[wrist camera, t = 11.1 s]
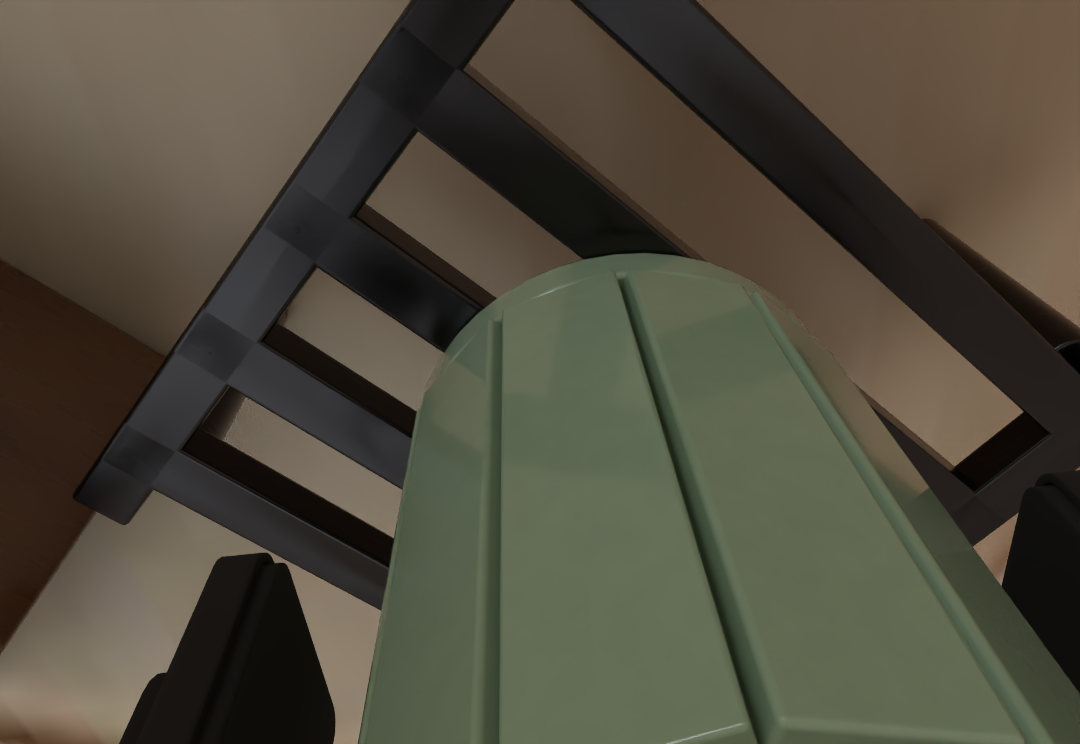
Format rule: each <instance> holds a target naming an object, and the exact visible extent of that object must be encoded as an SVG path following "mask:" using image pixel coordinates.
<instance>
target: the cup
mask: <svg viewBox="0 0 1080 744" xmlns="http://www.w3.org/2000/svg"><path fill="white" fill-rule="evenodd" d="M358 744H1080V693H1079V692H1078V691H1077V689H1076V688H1075V687H1074V685H1073V684H1072V683H1071V681H1070V680H1069V678H1068V677H1067V676H1066V674H1065V673H1064V672H1063V670H1062V669H1061V667H1060V666H1059V665H1058V663H1057V662H1056V661H1055V659H1054V658H1053V656H1052V655H1051V654H1050V652H1049V651H1048V650H1047V648H1046V647H1045V645H1044V644H1043V643H1042V641H1041V640H1040V639H1039V637H1038V636H1037V634H1036V633H1035V632H1034V630H1033V629H1032V628H1031V626H1030V625H1029V624H1028V622H1027V621H1026V619H1025V618H1024V617H1023V615H1022V614H1021V613H1020V611H1019V610H1018V608H1017V607H1016V606H1015V604H1014V603H1013V602H1012V600H1011V599H1010V597H1009V596H1008V595H1007V593H1006V592H1005V591H1004V589H1003V588H1002V586H1001V585H1000V584H999V582H998V581H997V580H996V578H995V577H994V575H993V574H992V573H991V571H990V570H989V569H988V567H987V566H986V564H985V563H984V562H983V560H982V559H981V558H980V556H979V555H978V554H977V552H976V551H975V549H974V548H973V547H972V545H971V544H970V543H969V541H968V540H967V538H966V537H965V536H964V534H963V533H962V532H961V530H960V529H959V527H958V526H957V525H956V523H955V522H954V521H953V519H952V518H951V516H950V515H949V514H948V512H947V511H946V510H945V508H944V507H943V505H942V504H941V503H940V501H939V500H938V499H937V497H936V496H935V494H934V493H933V492H932V490H931V489H930V488H929V486H928V485H927V484H926V482H925V481H924V479H923V478H922V477H921V475H920V474H919V473H918V471H917V470H916V468H915V467H914V466H913V464H912V463H911V462H910V460H909V459H908V457H907V456H906V455H905V453H904V452H903V451H902V449H901V448H900V446H899V445H898V444H897V442H896V441H895V440H894V438H893V437H892V435H891V434H890V433H889V431H888V430H887V429H886V427H885V426H884V424H883V423H882V422H881V420H880V419H879V418H878V416H877V415H876V414H875V412H874V411H873V409H872V408H871V407H870V405H869V404H868V403H867V401H866V400H865V398H864V397H863V396H862V394H861V393H860V392H859V390H858V389H857V387H856V386H855V385H854V383H853V382H852V381H851V379H850V378H849V376H848V375H847V374H846V372H845V371H844V370H843V368H842V367H841V365H840V364H839V363H838V361H837V360H836V359H835V357H834V356H833V354H832V353H831V352H830V351H829V350H827V349H826V348H825V347H824V346H823V345H821V344H820V343H819V342H818V341H817V340H815V339H814V338H813V337H812V336H811V334H810V333H809V332H808V330H807V329H806V328H805V326H804V325H803V324H802V322H801V321H800V320H799V318H798V317H797V316H796V315H795V314H794V313H793V312H792V311H790V310H789V309H788V308H787V307H786V306H785V305H784V304H783V303H782V302H781V301H780V300H779V299H778V298H776V297H775V296H773V295H772V294H771V293H769V292H768V291H766V290H765V289H764V288H762V287H761V286H760V285H758V284H756V283H754V282H752V281H750V280H749V279H747V278H745V277H743V276H741V275H739V274H737V273H735V272H733V271H730V270H727V269H725V268H722V267H719V266H716V265H713V264H711V263H708V262H704V261H700V260H695V259H690V258H685V257H681V256H675V255H663V254H650V253H638V254H615V255H609V256H603V257H597V258H591V259H585V260H581V261H578V262H574V263H571V264H568V265H564V266H561V267H558V268H554V269H552V270H550V271H547V272H545V273H543V274H540V275H538V276H536V277H534V278H531V279H529V280H527V281H525V282H523V283H521V284H520V285H518V286H516V287H515V288H513V289H511V290H510V291H508V292H506V293H505V294H503V295H501V296H500V297H498V298H497V299H496V300H495V301H493V302H492V303H491V304H490V305H488V306H487V307H486V308H484V309H483V310H482V311H481V312H479V313H478V314H477V315H476V316H475V317H474V318H473V319H472V320H471V321H470V322H469V323H468V324H467V325H466V326H465V327H464V328H463V329H462V330H461V331H460V332H459V333H458V334H457V336H456V337H455V338H454V340H453V341H452V343H451V344H450V345H449V347H448V348H447V349H446V351H445V352H444V353H443V355H442V356H441V358H440V360H439V362H438V364H437V365H436V367H435V369H434V371H433V373H432V375H431V377H430V378H429V381H428V384H427V387H426V390H425V392H424V395H423V398H422V401H421V405H420V408H418V410H417V411H416V417H415V422H414V428H413V434H412V439H411V445H410V451H409V456H408V462H407V468H406V473H405V479H404V485H403V490H402V496H401V502H400V507H399V513H398V519H397V524H396V530H395V536H394V541H393V547H392V553H391V558H390V564H389V570H388V575H387V581H386V587H385V593H384V598H383V604H382V610H381V615H380V621H379V627H378V632H377V638H376V644H375V649H374V655H373V661H372V666H371V672H370V678H369V683H368V689H367V695H366V700H365V706H364V712H363V717H362V723H361V729H360V734H359V740H358Z"/></svg>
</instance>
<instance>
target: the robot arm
mask: <svg viewBox="0 0 1080 744" xmlns="http://www.w3.org/2000/svg"><path fill="white" fill-rule="evenodd" d="M1002 588H1003V589H1004V591H1005V592H1006V593H1007V595H1008V596H1009V597H1010V599H1011V600H1012V602H1013V603H1014V604H1015V606H1016V607H1017V608H1018V610H1019V611H1020V613H1021V614H1022V615H1023V617H1024V618H1025V619H1026V621H1027V622H1028V624H1029V625H1030V626H1031V628H1032V629H1033V630H1034V632H1035V633H1036V634H1037V636H1038V637H1039V639H1040V640H1041V641H1042V643H1043V644H1044V645H1045V647H1046V648H1047V650H1048V651H1049V652H1050V654H1051V655H1052V656H1053V658H1054V659H1055V661H1056V662H1057V663H1058V665H1059V666H1060V667H1061V669H1062V670H1063V672H1064V673H1065V674H1066V676H1067V677H1068V678H1069V680H1070V681H1071V683H1072V684H1073V685H1074V687H1075V688H1076V689H1077V691H1078V692H1079V693H1080V470H1077V471H1067V472H1057V473H1047V474H1044V475H1041V476H1040V477H1039V478H1038V479H1037V481H1036V483H1035V486H1034V487H1031V488H1028V489H1027V490H1026V491H1025V492H1024V494H1023V497H1022V501H1021V505H1020V509H1019V513H1018V518H1017V522H1016V526H1015V531H1014V535H1013V539H1012V543H1011V548H1010V552H1009V556H1008V560H1007V565H1006V569H1005V573H1004V578H1003V582H1002ZM334 736H335V711H334V706H333V703H332V700H331V697H330V694H329V690H328V687H327V684H326V681H325V678H324V675H323V672H322V669H321V666H320V663H319V660H318V657H317V654H316V651H315V648H314V644H313V641H312V638H311V635H310V632H309V629H308V626H307V623H306V620H305V617H304V614H303V611H302V608H301V605H300V602H299V598H298V595H297V592H296V589H295V586H294V583H293V580H292V577H291V574H290V571H289V569H288V566H287V565H286V564H285V563H274V561H273V559H272V557H271V556H270V555H269V554H268V553H256V554H246V555H236V556H226V557H221V558H219V559H218V560H217V561H216V563H215V565H214V566H213V569H212V571H211V573H210V575H209V578H208V580H207V582H206V584H205V587H204V589H203V591H202V594H201V596H200V598H199V600H198V603H197V605H196V607H195V610H194V612H193V614H192V616H191V619H190V621H189V623H188V625H187V628H186V630H185V632H184V635H183V637H182V639H181V641H180V644H179V646H178V648H177V651H176V653H175V655H174V657H173V660H172V662H171V664H170V666H169V669H168V671H167V672H166V673H160V674H157V675H156V676H155V677H154V678H152V679H151V680H150V681H149V683H148V685H147V686H146V688H145V690H144V691H143V693H142V695H141V697H140V699H139V702H138V704H137V706H136V708H135V710H134V712H133V715H132V717H131V719H130V721H129V723H128V726H127V728H126V730H125V732H124V734H123V736H122V739H121V741H120V743H119V744H333V742H334Z"/></svg>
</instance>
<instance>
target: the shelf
mask: <svg viewBox="0 0 1080 744" xmlns="http://www.w3.org/2000/svg"><path fill="white" fill-rule="evenodd" d="M164 360H165V358H164V357H163V356H161V355H159V354H158V353H156V352H154V351H152V350H151V349H149V348H147V347H146V346H144V345H142V344H141V343H139V342H137V341H136V340H134V339H132V338H131V337H129V336H127V335H125V334H124V333H122V332H120V331H119V330H117V329H115V328H114V327H112V326H110V325H109V324H107V323H105V322H104V321H102V320H100V319H98V318H97V317H95V316H93V315H92V314H90V313H88V312H87V311H85V310H83V309H82V308H80V307H78V306H77V305H75V304H73V303H71V302H70V301H68V300H66V299H65V298H63V297H61V296H60V295H58V294H56V293H55V292H53V291H51V290H49V289H48V288H46V287H44V286H43V285H41V284H39V283H38V282H36V281H34V280H33V279H31V278H29V277H28V276H26V275H24V274H22V273H21V272H19V271H17V270H16V269H14V268H12V267H11V266H9V265H7V264H6V263H4V262H2V261H1V260H0V655H1V653H2V651H3V650H4V649H5V647H6V646H7V644H8V643H9V641H10V640H11V638H12V637H13V635H14V634H15V632H16V631H17V629H18V628H19V626H20V625H21V623H22V622H23V620H24V619H25V617H26V616H27V614H28V613H29V612H30V610H31V609H32V607H33V606H34V604H35V603H36V601H37V600H38V598H39V597H40V595H41V594H42V592H43V591H44V589H45V588H46V586H47V585H48V583H49V582H50V580H51V579H52V577H53V576H54V574H55V573H56V572H57V570H58V569H59V567H60V566H61V564H62V563H63V561H64V560H65V558H66V557H67V555H68V554H69V552H70V551H71V549H72V548H73V546H74V545H75V543H76V542H77V540H78V539H79V537H80V536H81V534H82V533H83V532H84V530H85V529H86V527H87V526H88V524H89V523H90V521H91V520H92V518H93V517H94V515H95V514H96V511H94V510H92V509H90V508H89V507H87V506H85V505H83V504H81V503H79V502H77V501H75V500H74V499H73V498H72V497H73V493H74V491H75V490H76V488H77V487H78V485H79V484H80V482H81V481H82V479H83V478H84V476H85V475H86V474H87V472H88V471H89V469H90V468H91V466H92V465H93V463H94V462H95V460H96V459H97V458H98V456H99V455H100V453H101V452H102V450H103V449H104V447H105V446H106V444H107V443H108V441H109V440H110V439H111V437H112V436H113V434H114V433H115V431H116V430H117V428H118V427H119V425H120V424H121V422H122V421H123V420H124V418H125V417H126V415H127V414H128V412H129V411H130V409H131V408H132V406H133V405H134V404H135V402H136V401H137V399H138V398H139V396H140V395H141V393H142V392H143V390H144V389H145V387H146V386H147V385H148V383H149V382H150V380H151V379H152V377H153V376H154V374H155V373H156V371H157V370H158V369H159V367H160V366H161V364H162V363H163V361H164Z"/></svg>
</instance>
